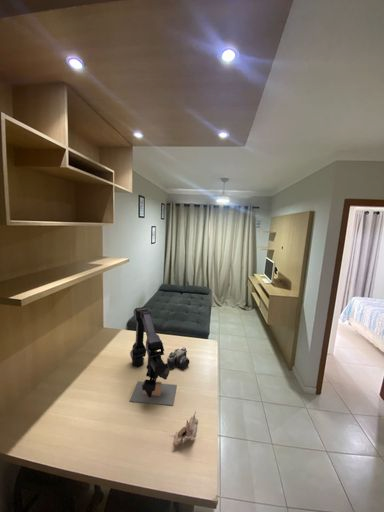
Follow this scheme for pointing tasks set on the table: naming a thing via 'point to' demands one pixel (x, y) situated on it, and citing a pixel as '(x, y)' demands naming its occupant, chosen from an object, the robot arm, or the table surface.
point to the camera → (178, 359)
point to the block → (156, 389)
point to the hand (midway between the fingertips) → (152, 390)
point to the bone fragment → (186, 431)
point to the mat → (163, 399)
